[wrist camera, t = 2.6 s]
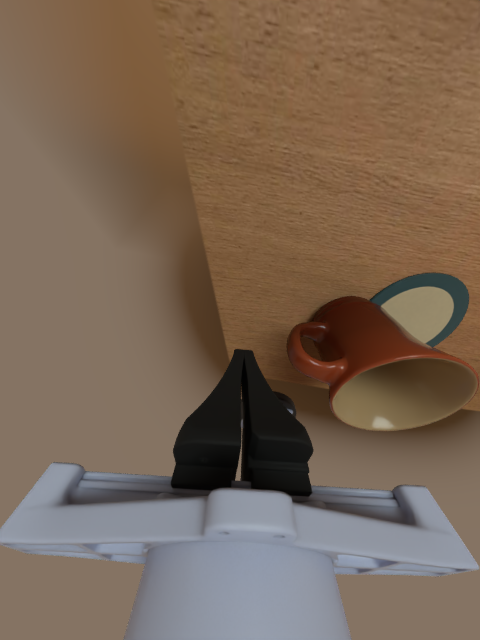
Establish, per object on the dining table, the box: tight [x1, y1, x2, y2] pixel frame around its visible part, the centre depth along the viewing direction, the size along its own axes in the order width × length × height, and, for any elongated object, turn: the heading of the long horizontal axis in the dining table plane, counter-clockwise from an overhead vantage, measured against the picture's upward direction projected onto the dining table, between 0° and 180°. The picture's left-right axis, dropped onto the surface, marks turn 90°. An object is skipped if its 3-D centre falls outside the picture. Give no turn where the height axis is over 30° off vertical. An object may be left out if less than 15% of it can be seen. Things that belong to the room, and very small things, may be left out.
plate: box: [370, 273, 469, 347], centre depth 21 cm, size 12×12×1 cm
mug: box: [287, 296, 479, 431], centre depth 16 cm, size 12×9×10 cm
